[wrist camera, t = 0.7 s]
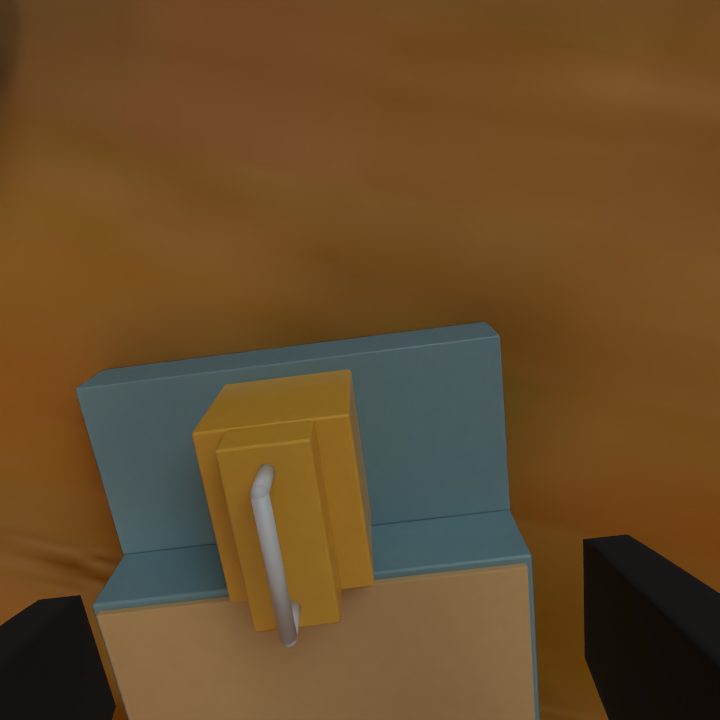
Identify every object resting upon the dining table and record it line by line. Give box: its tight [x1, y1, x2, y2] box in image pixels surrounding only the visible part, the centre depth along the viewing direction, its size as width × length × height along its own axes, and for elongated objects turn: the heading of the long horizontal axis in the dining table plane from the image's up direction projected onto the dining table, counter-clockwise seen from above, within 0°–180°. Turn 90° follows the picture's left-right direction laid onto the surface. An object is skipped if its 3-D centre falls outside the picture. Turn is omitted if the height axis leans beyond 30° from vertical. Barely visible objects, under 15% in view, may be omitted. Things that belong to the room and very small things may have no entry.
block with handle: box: [192, 369, 374, 648], centre depth 14 cm, size 5×4×6 cm
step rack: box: [76, 322, 539, 720], centre depth 17 cm, size 18×12×6 cm, turn 7°
